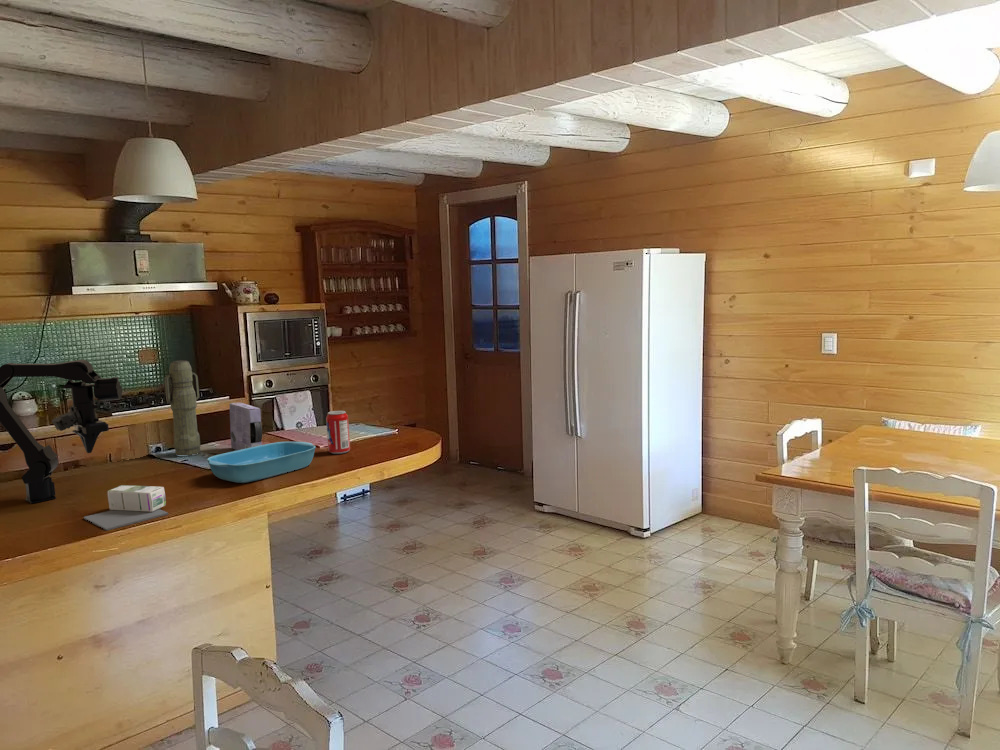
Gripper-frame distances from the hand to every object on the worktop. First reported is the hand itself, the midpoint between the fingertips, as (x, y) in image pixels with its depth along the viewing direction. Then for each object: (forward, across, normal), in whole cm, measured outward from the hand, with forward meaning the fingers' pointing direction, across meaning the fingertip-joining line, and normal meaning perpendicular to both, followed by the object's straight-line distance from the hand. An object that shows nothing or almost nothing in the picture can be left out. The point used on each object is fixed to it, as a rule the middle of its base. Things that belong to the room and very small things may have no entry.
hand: (89, 452), depth 222 cm
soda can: (+13, +19, +77) cm, 80 cm away
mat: (+13, +32, -3) cm, 34 cm away
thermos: (+13, -28, +43) cm, 53 cm away
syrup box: (+10, +22, -2) cm, 24 cm away
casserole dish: (+14, +20, +46) cm, 52 cm away
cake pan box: (+13, -12, +58) cm, 61 cm away
